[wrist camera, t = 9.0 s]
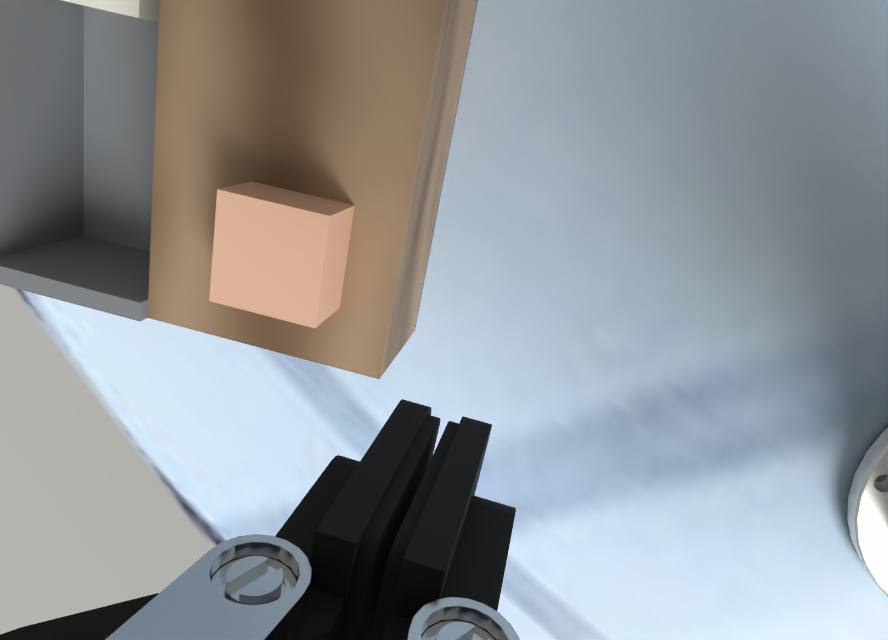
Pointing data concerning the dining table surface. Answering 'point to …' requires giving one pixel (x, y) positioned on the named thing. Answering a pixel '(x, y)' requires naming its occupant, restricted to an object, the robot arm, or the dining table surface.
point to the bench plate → (306, 153)
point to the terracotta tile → (279, 252)
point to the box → (77, 153)
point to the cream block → (125, 7)
